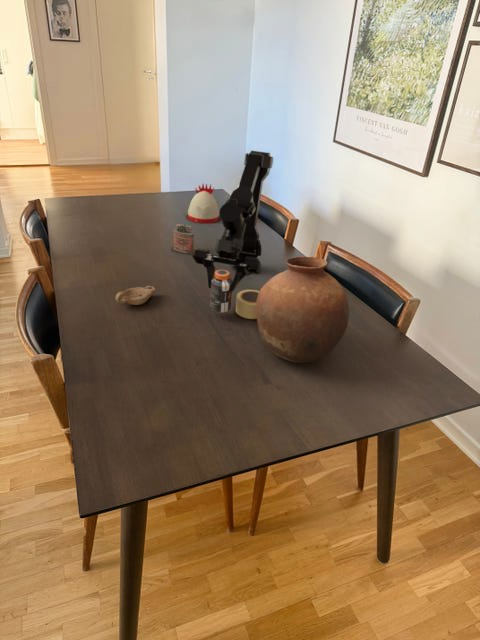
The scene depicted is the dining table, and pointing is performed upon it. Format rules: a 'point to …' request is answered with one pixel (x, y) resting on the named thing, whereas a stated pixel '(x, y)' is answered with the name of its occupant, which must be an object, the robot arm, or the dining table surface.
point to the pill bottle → (221, 291)
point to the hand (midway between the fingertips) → (220, 289)
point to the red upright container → (183, 239)
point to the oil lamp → (135, 295)
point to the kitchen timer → (203, 206)
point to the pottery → (302, 311)
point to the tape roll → (247, 304)
